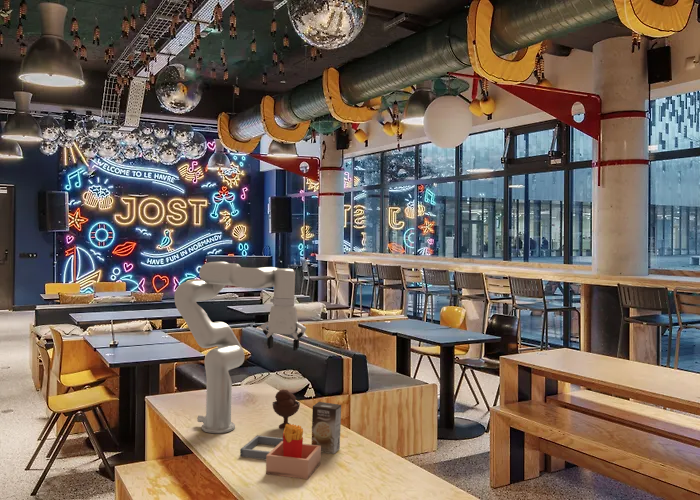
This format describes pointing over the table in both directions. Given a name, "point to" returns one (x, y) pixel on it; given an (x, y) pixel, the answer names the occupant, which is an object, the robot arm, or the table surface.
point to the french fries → (292, 441)
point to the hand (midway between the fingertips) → (283, 348)
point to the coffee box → (326, 426)
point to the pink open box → (293, 462)
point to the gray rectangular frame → (258, 454)
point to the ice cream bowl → (285, 406)
